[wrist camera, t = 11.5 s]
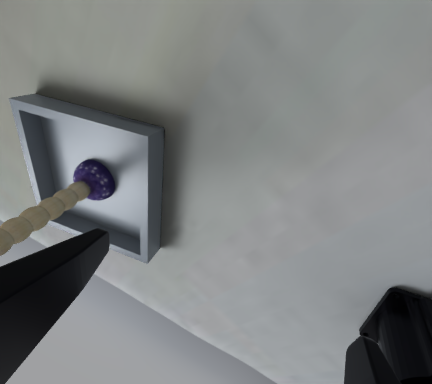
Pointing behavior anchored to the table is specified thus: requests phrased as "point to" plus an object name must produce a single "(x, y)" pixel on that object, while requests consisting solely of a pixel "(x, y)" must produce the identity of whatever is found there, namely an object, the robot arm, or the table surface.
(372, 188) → the table surface
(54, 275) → the robot arm
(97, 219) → the desk tray
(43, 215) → the toy lamp
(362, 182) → the table surface
